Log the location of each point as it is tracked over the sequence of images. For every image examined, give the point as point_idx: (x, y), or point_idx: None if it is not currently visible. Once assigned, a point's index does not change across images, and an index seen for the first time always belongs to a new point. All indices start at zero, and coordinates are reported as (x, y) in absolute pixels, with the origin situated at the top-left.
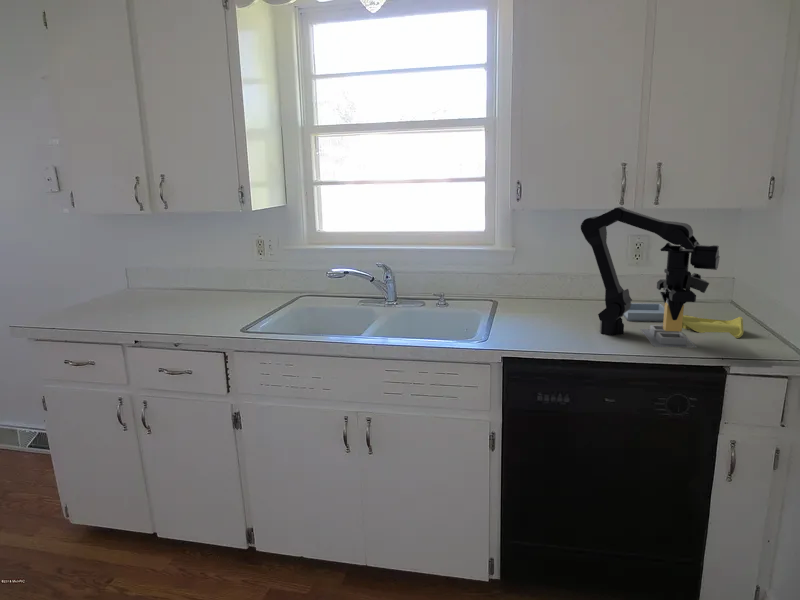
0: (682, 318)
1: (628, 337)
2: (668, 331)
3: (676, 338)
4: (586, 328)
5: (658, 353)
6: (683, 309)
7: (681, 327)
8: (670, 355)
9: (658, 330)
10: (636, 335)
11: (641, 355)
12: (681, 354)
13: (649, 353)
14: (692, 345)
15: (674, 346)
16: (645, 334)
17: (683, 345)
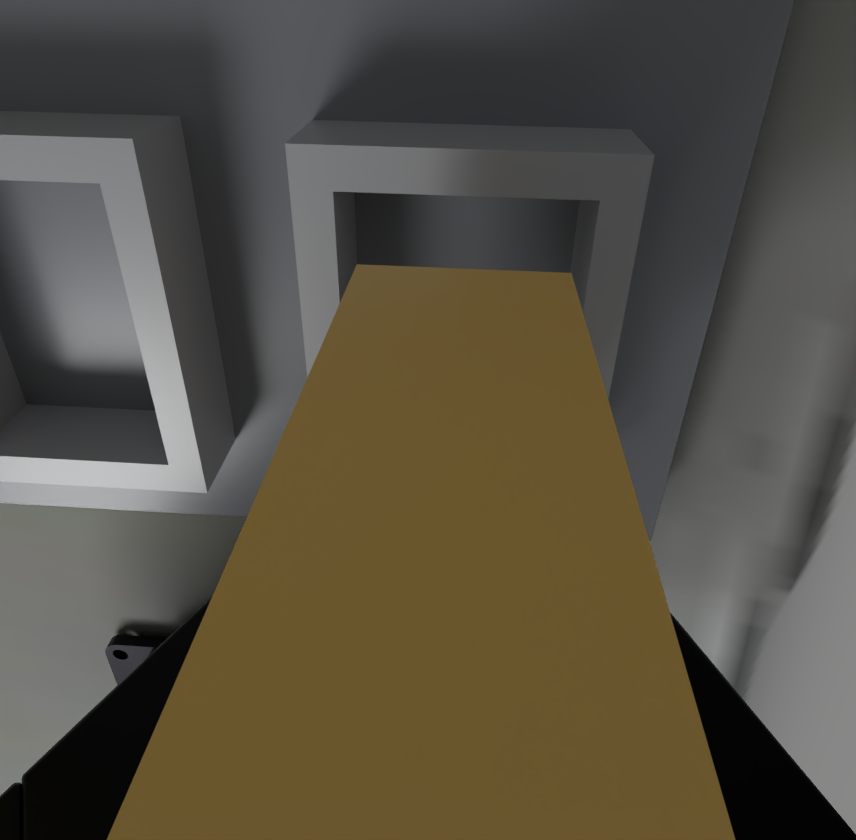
0: (619, 444)
1: (185, 584)
2: (175, 308)
3: (618, 323)
4: (22, 768)
5: (721, 474)
6: (692, 714)
7: (577, 317)
8: (816, 379)
9: (197, 445)
10: (85, 509)
11: (756, 614)
12: (808, 241)
13: (708, 546)
14: (672, 21)
15: (689, 327)
16: (180, 503)
17: (652, 182)
